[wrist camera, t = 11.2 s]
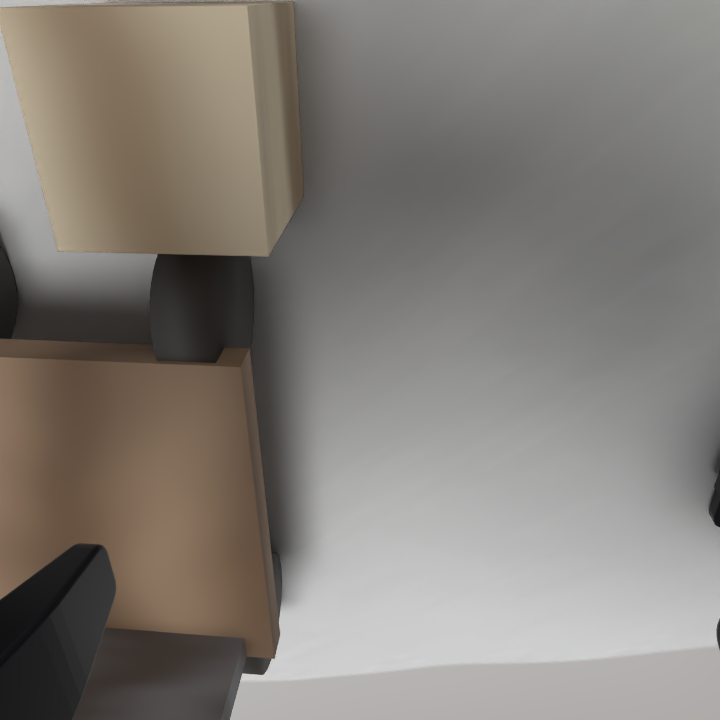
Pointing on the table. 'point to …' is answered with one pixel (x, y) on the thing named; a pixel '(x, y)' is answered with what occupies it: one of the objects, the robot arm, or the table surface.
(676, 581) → the table surface
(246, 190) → the beige cube
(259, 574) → the trolley
